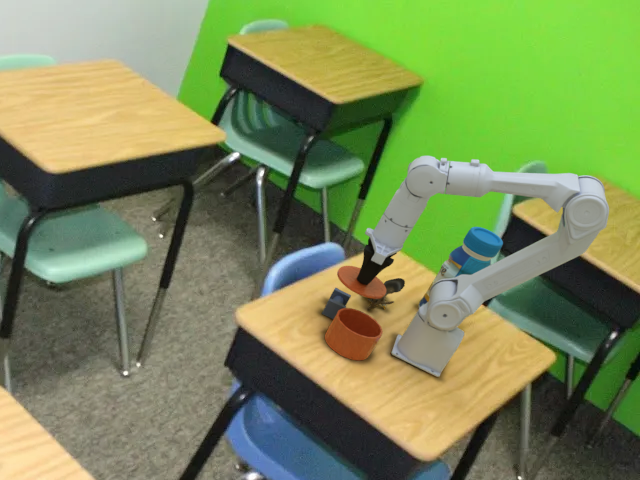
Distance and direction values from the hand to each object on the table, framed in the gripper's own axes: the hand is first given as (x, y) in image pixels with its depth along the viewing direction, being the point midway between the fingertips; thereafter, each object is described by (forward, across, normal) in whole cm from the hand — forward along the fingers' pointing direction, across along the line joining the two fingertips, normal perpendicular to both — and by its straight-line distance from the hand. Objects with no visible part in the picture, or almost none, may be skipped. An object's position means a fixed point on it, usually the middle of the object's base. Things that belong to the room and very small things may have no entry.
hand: (363, 278), depth 175 cm
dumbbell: (+10, -2, -2) cm, 11 cm away
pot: (+10, +7, +3) cm, 13 cm away
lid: (+1, 0, 0) cm, 1 cm away
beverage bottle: (+10, -21, +17) cm, 29 cm away
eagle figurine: (+10, -13, +5) cm, 18 cm away
